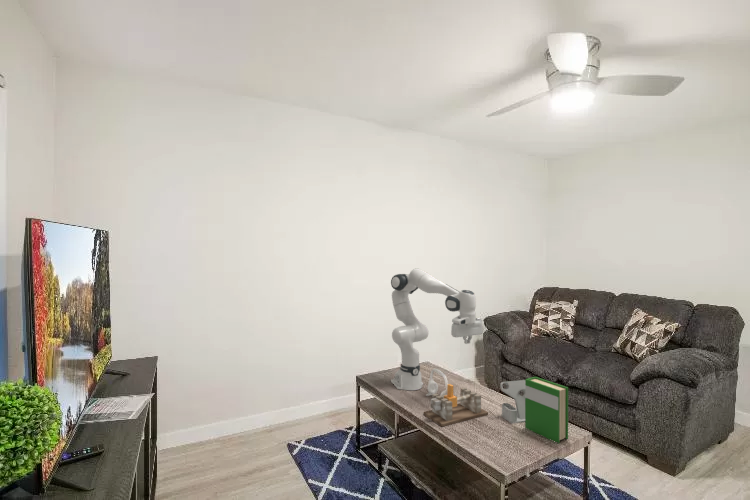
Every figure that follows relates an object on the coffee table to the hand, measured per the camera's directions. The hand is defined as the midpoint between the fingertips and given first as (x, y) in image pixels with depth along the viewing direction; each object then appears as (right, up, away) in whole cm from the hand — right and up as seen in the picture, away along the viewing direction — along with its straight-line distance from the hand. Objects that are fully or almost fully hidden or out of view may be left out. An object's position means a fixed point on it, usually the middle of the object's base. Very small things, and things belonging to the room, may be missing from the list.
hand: (467, 343), depth 221 cm
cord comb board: (-10, -34, -15) cm, 38 cm away
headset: (-16, -34, +3) cm, 38 cm away
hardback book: (+29, -35, -35) cm, 57 cm away
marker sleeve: (-13, -29, -16) cm, 35 cm away
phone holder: (+23, -34, -18) cm, 45 cm away
